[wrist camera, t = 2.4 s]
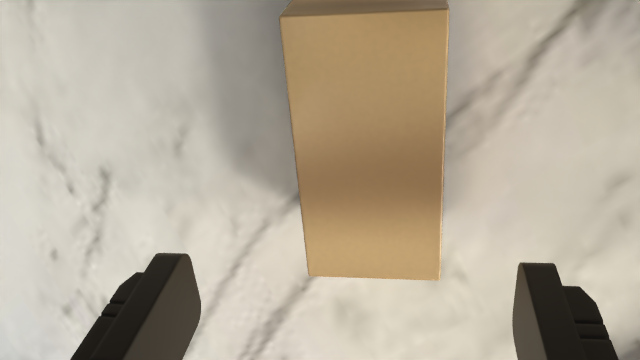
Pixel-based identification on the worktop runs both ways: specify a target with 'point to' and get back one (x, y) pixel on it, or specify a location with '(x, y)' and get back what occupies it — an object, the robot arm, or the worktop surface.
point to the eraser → (369, 133)
